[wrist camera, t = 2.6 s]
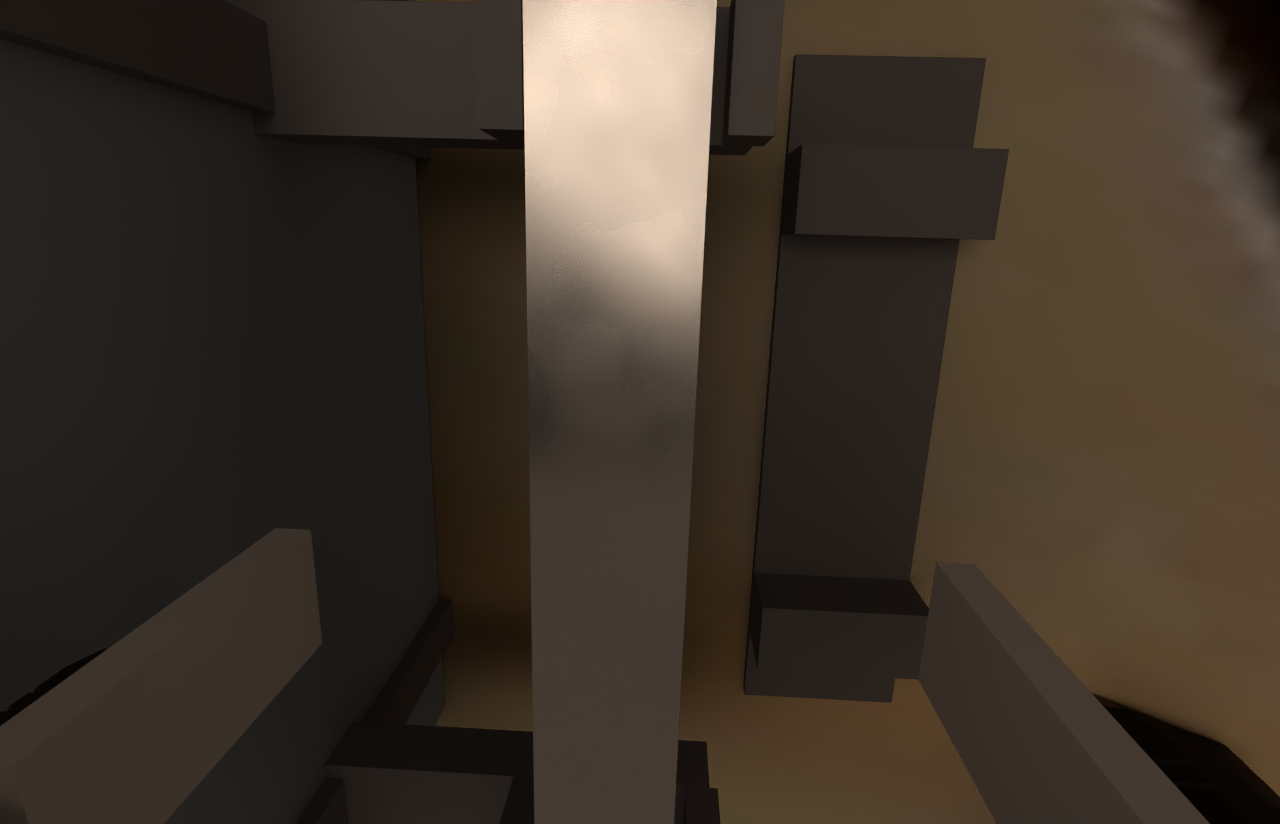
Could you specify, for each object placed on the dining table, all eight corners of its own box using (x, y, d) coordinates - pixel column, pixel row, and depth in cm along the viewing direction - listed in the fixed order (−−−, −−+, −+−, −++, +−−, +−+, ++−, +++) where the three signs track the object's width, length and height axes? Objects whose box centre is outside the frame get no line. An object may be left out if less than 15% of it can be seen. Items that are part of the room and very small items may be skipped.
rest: (743, 687, 33) (751, 739, 30) (793, 57, 26) (812, 31, 22) (887, 695, 33) (912, 748, 29) (980, 61, 25) (1027, 35, 22)
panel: (421, 704, 34) (93, 1321, 15) (375, -9, 26) (-509, -729, 6) (695, 719, 34) (727, 1379, 14) (738, -2, 25) (953, -764, 6)
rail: (560, 865, 22) (536, 998, 18) (558, -21, 16) (521, -104, 12) (665, 872, 22) (664, 1007, 18) (709, -18, 15) (722, -102, 12)
